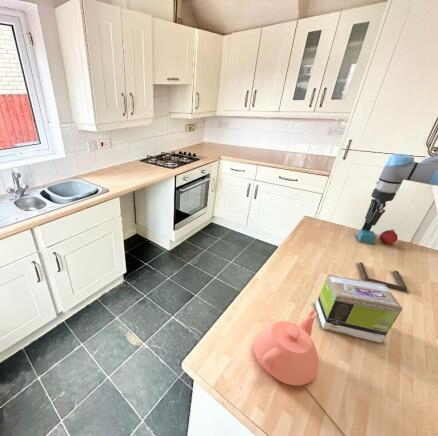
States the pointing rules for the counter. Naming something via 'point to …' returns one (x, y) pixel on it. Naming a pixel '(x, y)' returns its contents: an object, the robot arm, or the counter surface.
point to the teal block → (366, 236)
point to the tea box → (357, 308)
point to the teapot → (288, 351)
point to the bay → (397, 275)
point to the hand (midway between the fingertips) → (363, 234)
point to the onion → (388, 236)
